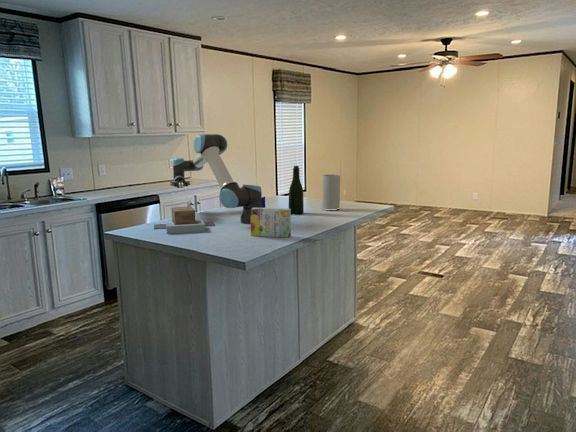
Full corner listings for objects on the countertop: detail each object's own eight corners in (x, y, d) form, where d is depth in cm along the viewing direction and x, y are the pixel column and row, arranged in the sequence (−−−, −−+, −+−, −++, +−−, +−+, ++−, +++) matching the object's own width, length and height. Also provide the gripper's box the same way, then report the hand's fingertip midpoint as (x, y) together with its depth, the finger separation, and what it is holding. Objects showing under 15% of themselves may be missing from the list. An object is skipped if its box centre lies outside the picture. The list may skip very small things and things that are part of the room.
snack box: (291, 235, 237) (291, 208, 234) (288, 238, 231) (288, 209, 229) (253, 233, 241) (253, 206, 239) (250, 236, 236) (249, 208, 233)
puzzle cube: (261, 212, 310) (261, 198, 308) (248, 211, 312) (247, 197, 310) (265, 209, 319) (265, 196, 318) (252, 209, 321) (251, 195, 320)
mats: (154, 225, 264) (154, 224, 264) (212, 222, 274) (212, 221, 274) (153, 229, 253) (153, 228, 253) (214, 225, 263) (214, 224, 263)
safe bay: (166, 228, 254) (166, 222, 253) (203, 226, 260) (202, 220, 259) (166, 233, 241) (166, 226, 241) (205, 231, 247) (205, 224, 246)
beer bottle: (285, 213, 305) (285, 165, 299) (297, 211, 311) (297, 165, 305) (294, 215, 296) (294, 166, 291) (306, 213, 303) (307, 165, 297)
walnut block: (172, 221, 276) (171, 207, 275) (191, 220, 281) (190, 206, 279) (175, 226, 262) (174, 211, 260) (195, 225, 266) (195, 210, 264)
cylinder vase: (318, 209, 320) (319, 175, 316) (330, 207, 328) (330, 174, 324) (331, 211, 311) (332, 176, 307) (343, 209, 319) (343, 175, 315)
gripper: (190, 187, 301) (193, 191, 279) (169, 187, 297) (170, 192, 275) (190, 176, 300) (192, 179, 277) (168, 176, 296) (169, 180, 273)
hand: (181, 185), depth 276 cm, fingers closed
